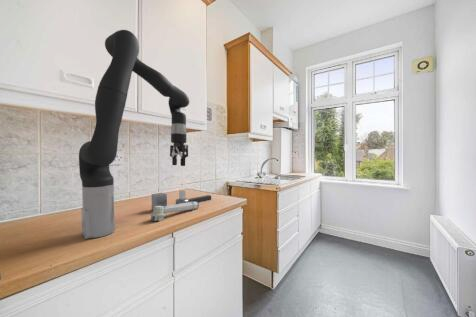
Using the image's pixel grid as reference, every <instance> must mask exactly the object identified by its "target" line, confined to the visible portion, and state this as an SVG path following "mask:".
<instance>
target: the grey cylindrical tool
mask: <svg viewBox="0 0 476 317" xmlns="http://www.w3.org/2000/svg"><path fill="white" fill-rule="evenodd" d="M199 205H200V204H199V202H192V201H190V202H187V203H181V204H176V203H175V204H169V205H168V204H167V206H155V207H154V209H153V210H152V212H150V214H149V215H150V221H152V222H156V221H158V222H162V221H164V220H165V216H166V214H169V213H176V212H177V213H178V212H185V211H193V210H198V209H199V207H200V206H199Z"/></svg>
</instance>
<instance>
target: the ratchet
mask: <svg viewBox="0 0 476 317" xmlns="http://www.w3.org/2000/svg"><path fill="white" fill-rule="evenodd" d="M211 200H212V195H209V194H207V195H201V196H197V197H191V198H187V197H186V190H184V189H182V190H178V198H177V199H175V204H181V203H187V202H190V201H192V202H198V203H202V202H207V201H211Z"/></svg>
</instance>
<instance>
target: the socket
mask: <svg viewBox="0 0 476 317" xmlns="http://www.w3.org/2000/svg"><path fill="white" fill-rule="evenodd" d="M155 206H168V194H167V193H164V192H159V193H158V192H157V193H151V211H153V209H154V207H155Z"/></svg>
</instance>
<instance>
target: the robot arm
mask: <svg viewBox="0 0 476 317" xmlns="http://www.w3.org/2000/svg"><path fill="white" fill-rule="evenodd" d="M104 46H105V47H104V48H105V49H106V52H107V53H108V54H109V56H111V57H112V59H111V62H110V64H109V65H108V67H107V69H106V71H105V72H104V73H103V76H102V77H101V80H100V81H99V84H98V87H97V90H96V95H95V100H94V113H95V127H94V131H93V134H92V137H91V139H90V140H89V141H86V142H84V143H83V144H82V145H81V146H80V148H79V152H78V166H79V168H78V170H79V177H80V180H81V191H82V193H81V196H82V207H81V235H82V236H83V239H84V240H87V239H95V238H96V239H97V238H100V237H101V238H102V237H105V236H109V235H110V234H112V233H114V232H115V188H114V184H115V183H114V182H115V181H114V180H115V179H114V176H113V175H112V173H111V170H110V165H111V164H112V163H113V162H114V161H115V159H116V158H117V154H118V142H119V132H120V128H121V123H122V120H123V115H124V111H125V108H126V103H127V99H128V93H129V88H130V85H131V84H130V83H131V79H132V73H134V74H136V75H137V76H138V77H140V78H142V79H143V80H144V81H145V82H146V83H148V84H149V85H151V87H153V89H154V90H156V91H157V92H158V93H159V94H160V95H161V96H163V97H167V98H168V108H169V111H170V112H169V113H170V115H171V127H170V143H172V144H173V145H171V144H170V146H169V157H171V159H172V161H171V163H172V166H178V155H179V157H180V167H185V166H186V159H187V158H188V157H189V145H188V144H186V143H187V115H186V114H185V112H182V111H181V109H183V108H187V107H188V106H189V104H190V98H189V96H188V95H187V93H186V92H184V91H183V90H181V89H180V88H178V87H177V86H175V85H173V83H172V82H171V81H169V80H168V78H166V76H165V75H164V74H162V73H161V72H159V71H158V70H156V69H154V68H153V67H151V66H149V65H147V64H146V63H144V62H143V61H141V60H140V59H139V58H138V55H139V52H140V44H139V41H138V38H137V36H135V34H134V33H133V32H132V31H130V30H127V29H120V30H116V31H115V32H114V33H112V34H110V35H109V36H107V38H106V39H105V40H104Z"/></svg>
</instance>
